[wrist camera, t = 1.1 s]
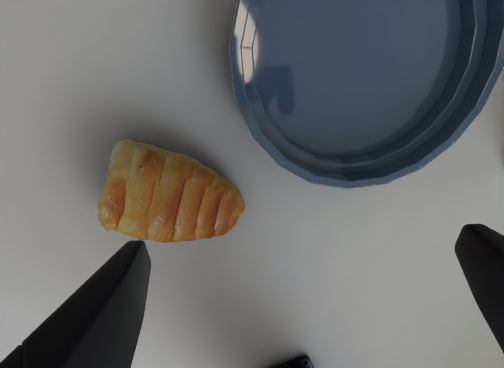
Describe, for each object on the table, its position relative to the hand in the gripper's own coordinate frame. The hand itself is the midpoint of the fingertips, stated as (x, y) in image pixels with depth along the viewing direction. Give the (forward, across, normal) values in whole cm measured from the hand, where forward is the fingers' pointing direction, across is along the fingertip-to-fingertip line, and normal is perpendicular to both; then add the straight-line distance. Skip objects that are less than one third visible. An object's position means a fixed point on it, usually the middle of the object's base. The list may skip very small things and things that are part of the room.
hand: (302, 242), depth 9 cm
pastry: (+12, +8, +6) cm, 16 cm away
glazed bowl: (+15, -6, -1) cm, 16 cm away
